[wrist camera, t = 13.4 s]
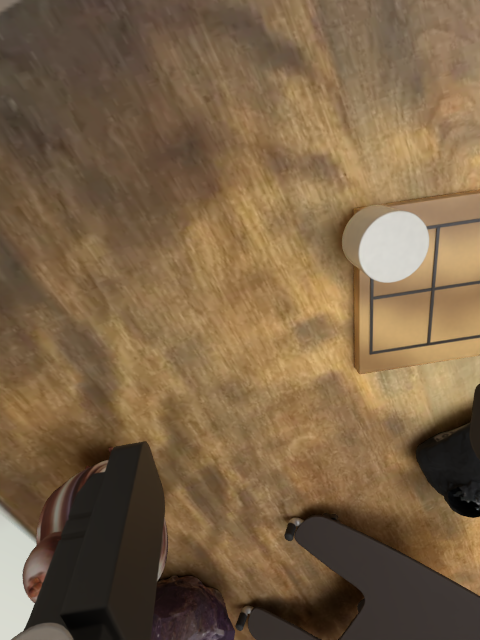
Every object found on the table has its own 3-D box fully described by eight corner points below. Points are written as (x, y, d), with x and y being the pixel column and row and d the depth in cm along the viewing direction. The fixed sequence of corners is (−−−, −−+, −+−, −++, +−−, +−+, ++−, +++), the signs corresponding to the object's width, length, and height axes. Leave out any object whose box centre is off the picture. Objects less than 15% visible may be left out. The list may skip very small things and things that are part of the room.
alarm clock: (176, 494, 39) (161, 682, 25) (139, 516, 39) (104, 710, 26) (102, 426, 34) (34, 605, 21) (62, 452, 35) (-29, 641, 22)
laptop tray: (314, 457, 46) (298, 510, 37) (513, 565, 41) (546, 654, 32) (250, 579, 54) (225, 644, 46) (409, 682, 49) (414, 777, 40)
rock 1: (214, 602, 48) (229, 550, 44) (228, 689, 41) (248, 636, 37) (117, 616, 45) (124, 561, 41) (113, 714, 37) (120, 659, 33)
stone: (340, 209, 27) (358, 216, 24) (406, 199, 27) (432, 205, 24) (342, 273, 29) (358, 288, 26) (403, 264, 29) (427, 277, 26)
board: (353, 208, 28) (359, 210, 27) (508, 185, 29) (522, 186, 28) (354, 367, 34) (359, 375, 33) (484, 347, 34) (494, 354, 33)
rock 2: (416, 425, 45) (435, 382, 38) (514, 457, 41) (556, 417, 34) (399, 502, 40) (416, 470, 33) (507, 547, 36) (554, 523, 29)
